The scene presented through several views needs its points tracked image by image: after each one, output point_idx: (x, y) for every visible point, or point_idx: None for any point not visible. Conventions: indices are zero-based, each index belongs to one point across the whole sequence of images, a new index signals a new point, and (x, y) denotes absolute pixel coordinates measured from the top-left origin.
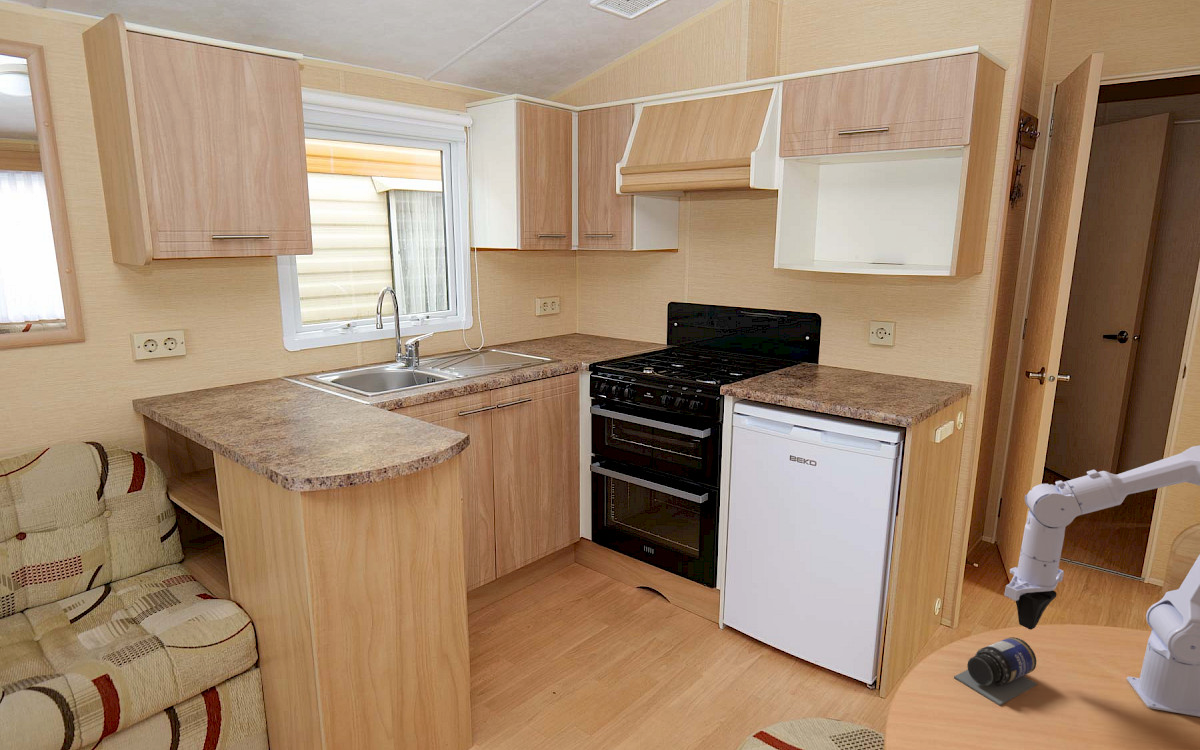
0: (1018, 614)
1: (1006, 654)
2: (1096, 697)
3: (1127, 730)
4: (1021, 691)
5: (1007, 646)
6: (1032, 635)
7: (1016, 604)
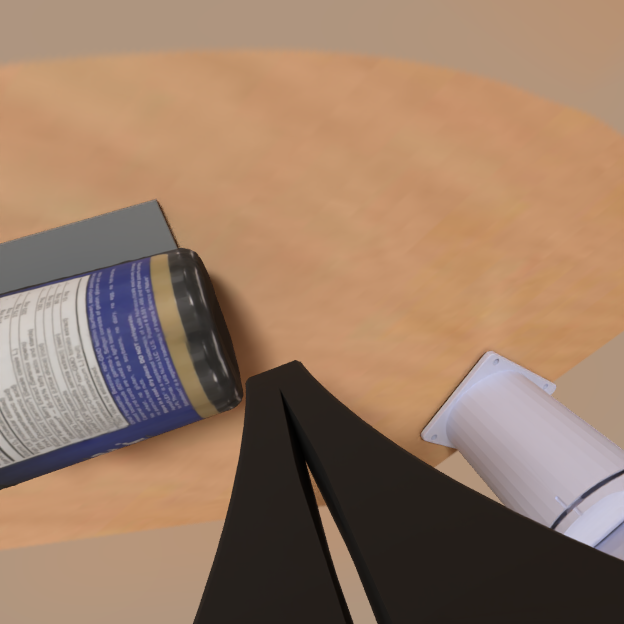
0: (244, 434)
1: (21, 475)
2: (350, 403)
3: None
4: None
5: (71, 432)
6: (484, 89)
7: (224, 529)
